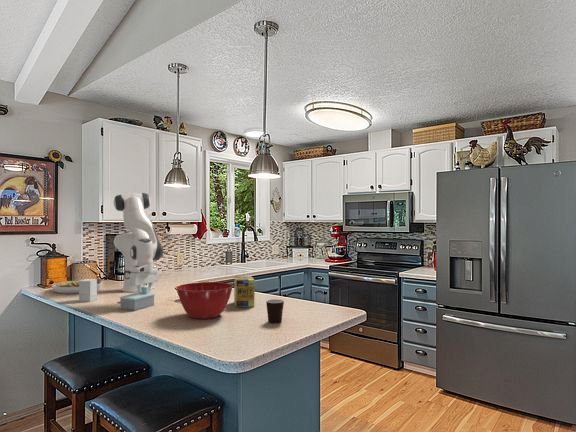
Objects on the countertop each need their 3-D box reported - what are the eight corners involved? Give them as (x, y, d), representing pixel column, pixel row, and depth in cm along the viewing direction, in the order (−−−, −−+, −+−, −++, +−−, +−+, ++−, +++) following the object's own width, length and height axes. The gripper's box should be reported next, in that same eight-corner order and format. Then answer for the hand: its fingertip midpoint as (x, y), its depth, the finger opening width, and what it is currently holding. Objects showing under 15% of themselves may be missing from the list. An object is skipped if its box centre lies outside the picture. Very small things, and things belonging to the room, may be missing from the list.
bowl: (49, 296, 249) (49, 284, 249) (55, 288, 276) (55, 277, 277) (101, 293, 261) (101, 281, 261) (102, 285, 289) (102, 275, 289)
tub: (140, 303, 227) (140, 293, 227) (154, 305, 224) (154, 294, 224) (120, 309, 213) (120, 298, 214) (134, 311, 210) (134, 299, 210)
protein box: (236, 308, 219) (236, 280, 219) (234, 302, 234) (234, 276, 234) (254, 307, 221) (254, 279, 221) (251, 301, 236) (251, 275, 236)
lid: (140, 293, 228) (140, 286, 228) (154, 294, 224) (154, 287, 224) (119, 298, 213) (119, 290, 213) (134, 300, 209) (134, 292, 209)
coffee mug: (277, 325, 184) (277, 303, 184) (262, 322, 189) (262, 301, 189) (290, 319, 194) (290, 299, 194) (275, 317, 198) (276, 297, 199)
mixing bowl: (172, 312, 208) (172, 283, 208) (225, 307, 219) (225, 280, 220) (180, 325, 182) (180, 292, 182) (239, 319, 193) (239, 288, 194)
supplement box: (97, 299, 239) (97, 278, 239) (90, 302, 231) (90, 280, 231) (85, 299, 239) (86, 278, 240) (78, 301, 232) (78, 280, 232)
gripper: (153, 265, 235) (152, 288, 235) (127, 269, 216) (127, 294, 216) (161, 265, 232) (161, 289, 232) (136, 269, 213) (136, 295, 213)
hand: (144, 291), depth 224 cm, fingers open, 5 cm apart
